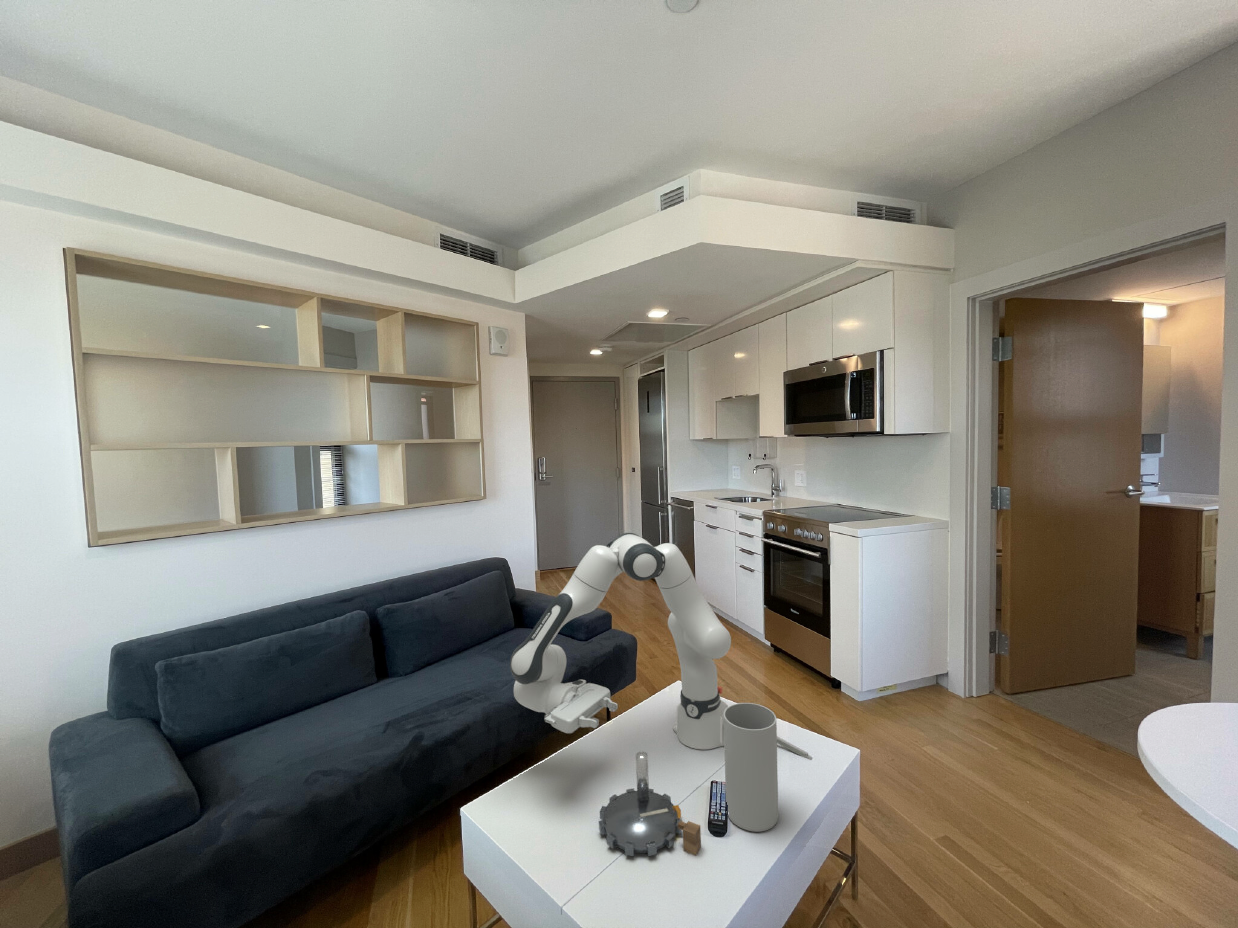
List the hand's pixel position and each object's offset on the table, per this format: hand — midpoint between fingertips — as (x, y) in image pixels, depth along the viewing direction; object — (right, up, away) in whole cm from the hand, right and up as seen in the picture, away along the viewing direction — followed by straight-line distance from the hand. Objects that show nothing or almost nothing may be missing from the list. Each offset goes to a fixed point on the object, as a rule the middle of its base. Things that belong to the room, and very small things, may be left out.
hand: (607, 715), depth 136 cm
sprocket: (+8, -22, -11) cm, 26 cm away
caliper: (+51, -19, +20) cm, 58 cm away
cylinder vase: (+36, -21, -8) cm, 42 cm away
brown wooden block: (+20, -22, -18) cm, 34 cm away
